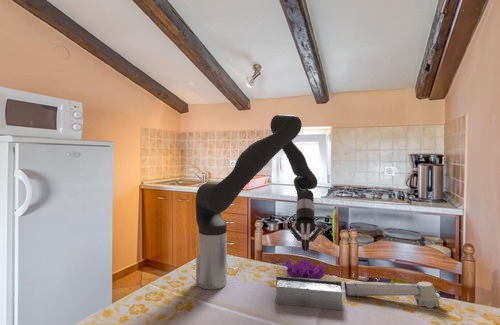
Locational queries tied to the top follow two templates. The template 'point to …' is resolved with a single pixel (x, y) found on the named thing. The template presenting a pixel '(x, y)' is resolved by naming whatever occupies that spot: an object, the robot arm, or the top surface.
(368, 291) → the white handheld device
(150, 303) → the top surface
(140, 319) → the top surface
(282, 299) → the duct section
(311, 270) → the purple tube coral
